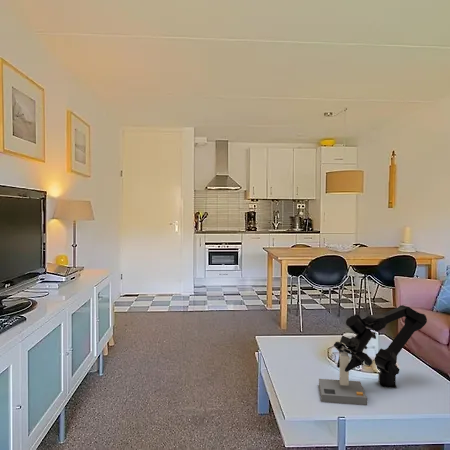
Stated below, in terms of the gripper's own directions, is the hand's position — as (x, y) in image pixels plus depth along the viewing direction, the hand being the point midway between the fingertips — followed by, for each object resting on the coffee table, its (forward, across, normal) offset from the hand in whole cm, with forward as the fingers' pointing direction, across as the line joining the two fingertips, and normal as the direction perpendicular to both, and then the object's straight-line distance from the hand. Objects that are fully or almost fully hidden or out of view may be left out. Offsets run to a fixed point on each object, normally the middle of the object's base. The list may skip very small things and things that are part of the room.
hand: (341, 369), depth 171 cm
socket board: (+8, 0, +8) cm, 11 cm away
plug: (+4, 0, +6) cm, 7 cm away
